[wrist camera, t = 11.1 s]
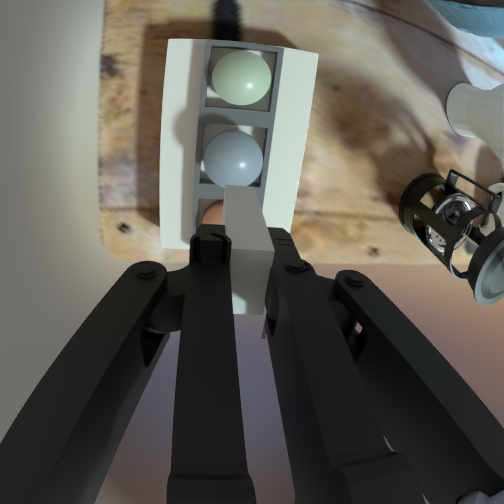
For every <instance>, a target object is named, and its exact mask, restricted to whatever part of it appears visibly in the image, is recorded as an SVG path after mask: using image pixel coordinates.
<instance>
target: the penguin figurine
mask: <svg viewBox="0 0 504 504" xmlns="http://www.w3.org/2000/svg"><path fill="white" fill-rule="evenodd" d="M488 189H489V190H490V191H492V192H493V193H495V194H497V193H499V192H501V191H502V198H503V199H502V202H501V204H500V207H499V209H498V211H497V215H498V216H499V218H500V219H501V222H502V227H504V183H496V184H493V185H491V186H490V187H488ZM491 200H492V198H491ZM479 227H480V225H479ZM494 230H495V221H494V217H493V215H492V213H490V216H489V222H488V224H487V226H486V225H483V227H482V228H481V227H480V232H481V233H483V234H484V235H485V236H487V235H489V234H490V233H491V232H492V231H494Z"/></svg>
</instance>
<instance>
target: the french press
mask: <svg viewBox="0 0 504 504" xmlns="http://www.w3.org/2000/svg"><path fill="white" fill-rule="evenodd" d="M459 176H460V177H462V178H464V179H465V180H467V181H469V182H471V183H472V184H474V185H476V186H477V187H479V188H481V189H482V190H484V191H486V192H487V193H489V194H491V195H492V200H491V202H490V205H489V207H488V208H487V207H486V206H484V205H483V204H481V203H480V202H478V201H477V200H475V199H474V198H472V197H471V196H469V195H468V194H466V193H465V192H463V191H461V190H460V189H458V188H456V187H455V184H456V182H457V179H458V177H459ZM437 185H439V186H440V187H441V188H442V190H443V192H444V196H445V197H444V198H442V199H441V200H440V201H439V202H438V203H437V204H436V205H435V206H434V207H433V209H432V210H431V209H430V208H428V207H427V206H426V205H424V204H423V203H422V202H420V200H421V198H422V197H423V195H424V194H425V193H426V192H427V191H429V190H430V189H431V188H433V187H435V186H437ZM459 192H460V193H461V194H460V193H459ZM470 199H471V200H472V201H474V202H475V203H477V204H478V205H480V206H478V207H475V208H474V207H473V204H472V202H471V200H470ZM501 202H502V198H501V197H500V196H498V195H497V194H495V193H493V192H492V191H490V190H489V189H487V188H485V187H484V186H482V185H480V184H478V183H477V182H475V181H473V180H471V179H470V178H468V177H466V176H464V175H462V174H461V173H459V172H457V171H455V170H453V169H451V170H450V171H449V174H448V176H447V179H446V180H445V179H444V178H443V177H441V176H439V175H437V174H434V173H427V174H423V175H421V176H419V177H417V178H416V179H414V180H413V181H412V182H411V183H410V184H409V185H408V187H407V188H406V190H405V191H404V193H403V195H402V198H401V201H400V206H399V216H400V220H401V223H402V225H403V227H404V228H405V229H406V230H407V231H408V232H409V233H411V234H413V235H414V236H415V237H416V238H417V239H418V240H420V241H421V242H422V243H423V244H424V245H425V246H426V247H427V248H428V249H429V250H430V251H431V252H432V253H433V254H434V255H435V256H436V257H437V258H438V259H439V260H440V261H441V262H442V263H443V264H444V265H445V266H446V267H447V269H448V270H449V271H450V272H451V273H452V274H453V276H454V277H456V278H457V279H459V280H468V282H469V284H470V286H471V288H472V290H473V293H474V298H475V300H476V301H477V303H479V304H480V305H483V306H486V305H490V304H493V303H495V302H497V301H498V300H500V299H501V298H502V297H503V296H504V227H502V222H501V219H500V218H499V216H498V215H497V211H498V209H499V207H500V204H501ZM484 213H492V215H493V217H494V221H495V230H494V231H492V232H491V233H490V234H489V235H487V236H485V235H484V234H483V233H481V232H480V231H479V230H478V229H476V228H475V227H474V226H473V221H474V218H475V217H477V216H479V215H480V214H484ZM414 214H416V215H417V216H418V217H419V218H420V219H422V220H423V221H424V222H425V223H426V227H417V226H415V225H414ZM465 239H467V240H468V241H469V242H471V243H472V244H473V245H474V246H475V247H476V248H477V249H476V251H475V253H474V255H473V257H472V259H471V261H470V264H469V267H468V271H466V272H462V273H460V272H459V271H458V270H457V269H456V268H455V267H454V266H453V265H452V264H451V259H452V253H453V250H455V249H457V248H458V247H459V246H460V245H461V244H462V243H463V242H464V241H465ZM442 254H444V256H443V255H442Z"/></svg>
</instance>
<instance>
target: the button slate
mask: <svg viewBox="0 0 504 504" xmlns="http://www.w3.org/2000/svg"><path fill="white" fill-rule="evenodd" d="M262 166H263V155H262V152H261V149H260V147H259V146H258V144H257V142H256V141H255V139H254V138H253V137H252V136H250V135H249V134H247V133H245V132H243V131H240V130H227V131H223V132H221V133H219V134H217V135H216V136H215V137H214V138H213V139H212V140H211V141H210V142H209V144H208V146H207V149H206V152H205V156H204V167H205V171H206V173H207V175H208V177H209V178H210V179H211V180H212V181H213V182H214V183H215V184H217V185H218V186H220V187H223V188H225V185H238V186H248V185H250V184H251V183H252V182H253V181H255V180H256V178H257V177H258V176H259V174H260V172H261V170H262Z"/></svg>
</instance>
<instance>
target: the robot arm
mask: <svg viewBox="0 0 504 504" xmlns="http://www.w3.org/2000/svg"><path fill="white" fill-rule="evenodd" d="M427 1H428V2H429V3H430V4H431V5H432V6H433V7H434V8H435V9H436V10H437V11H438V12H439V13H440V14H441V15H442V16H443V17H444V18H445V20H447V21H448V22H449V23H450V24H451V25H453V26H454V27H456V28H457V29H459V30H462V31H464V32H467V33H472V34H474V35H477V36H482V37H490V38H504V0H427ZM265 305H266V311H267V313H266V318H265V324H264V329H263V333H262V339H265V335H266V334H267V338H268V345H269V351H270V356H271V362H272V367H273V373H274V378H275V384H276V389H277V395H278V401H279V406H280V412H281V417H282V423H283V429H284V434H285V439H286V445H287V451H288V456H289V462H290V467H291V473H292V479H293V484H294V490H295V503H294V504H426V503H425V501H424V498H423V495H424V496H425V498H426V499H427V500H428V501H429V503H430V504H504V428H503V427H502V426H501V424H500V423H499V422H498V421H497V419H496V418H495V417H494V416H493V414H492V413H491V412H490V411H489V409H488V408H487V407H486V406H485V404H484V403H483V402H482V401H481V400H480V399H479V397H478V396H477V395H476V394H475V392H473V390H472V389H471V388H470V386H469V385H468V384H467V383H466V382H465V381H464V380H463V378H462V377H461V376H460V375H459V374H458V373H457V371H456V370H455V369H454V368H453V367H452V366H451V365H450V363H449V362H448V361H447V360H446V359H445V358H444V357H443V356H442V354H440V352H439V351H438V350H437V349H436V348H435V347H434V346H433V345H432V343H431V342H430V341H429V340H428V339H427V338H426V337H425V336H424V335H423V334H422V333H421V332H420V330H418V328H417V327H416V326H415V325H414V324H413V323H412V322H411V321H410V320H409V319H408V318H407V317H406V316H405V315H404V314H403V313H402V312H401V311H400V310H399V308H398V307H397V306H395V304H394V303H393V302H392V301H391V300H390V299H389V298H388V297H387V296H386V295H385V294H384V293H383V292H382V291H381V290H380V289H379V288H378V287H377V286H376V285H375V284H374V283H373V282H372V281H371V280H370V279H369V278H368V277H366V276H365V275H364V274H361V273H359V272H358V271H354V270H342V271H339V272H338V273H337V274H336V277H335V280H334V279H329V278H325V277H322V276H318V275H316V273H315V270H314V269H313V267H312V266H311V264H310V263H308V262H307V261H305V260H302V259H301V258H300V256H299V254H298V251H297V249H296V247H295V244H294V242H293V241H292V238H291V235H290V233H288V232H287V231H286V230H285V229H283V228H276V227H267V225H266V222H265V219H264V215H263V212H262V209H261V206H260V203H259V200H258V197H257V194H256V191H255V187H251V186H238V185H225V191H224V202H223V214H222V225H218V224H201V225H200V226H198V227H197V228H196V232H195V234H194V235H193V236H192V237H191V238H190V258H189V265H188V266H186V267H184V268H182V269H180V270H176V271H170V272H167V270H166V268H165V267H164V266H163V265H162V264H160V263H157V262H154V261H141V262H138V263H135V264H133V265H131V266H130V267H129V268H128V269H127V270H126V271H125V272H124V273H123V274H122V276H121V277H120V278H119V279H118V280H117V281H116V283H115V284H114V285H113V286H112V287H111V289H110V290H109V291H108V292H107V294H106V295H105V296H104V297H103V298H102V300H101V301H100V302H99V303H98V305H97V306H96V307H95V308H94V309H93V311H92V312H91V313H90V315H89V316H88V317H87V318H86V320H85V321H84V322H83V323H82V325H81V326H80V327H79V329H78V330H77V331H76V333H75V334H74V335H73V336H72V338H71V339H70V340H69V342H68V343H67V344H66V346H65V347H64V348H63V350H62V351H61V352H60V354H59V355H58V357H57V358H56V359H55V361H54V362H53V363H52V365H51V366H50V368H49V369H48V371H47V372H46V373H45V375H44V376H43V378H42V379H41V381H40V382H39V383H38V385H37V386H36V388H35V389H34V391H33V392H32V394H31V395H30V397H29V398H28V400H27V402H26V403H25V404H24V406H23V408H22V409H21V411H20V412H19V414H18V415H17V417H16V418H15V420H14V422H13V423H12V425H11V427H10V428H9V430H8V432H7V433H6V435H5V437H4V438H3V440H2V442H1V443H0V504H94V503H95V501H96V498H97V496H98V493H99V491H100V488H101V486H102V483H103V481H104V479H105V476H106V474H107V472H108V469H109V467H110V464H111V463H112V460H113V458H114V456H115V453H116V451H117V449H118V446H119V444H120V442H121V440H122V437H123V435H124V433H125V431H126V428H127V426H128V424H129V422H130V420H131V417H132V415H133V413H134V411H135V409H136V407H137V404H138V402H139V400H140V398H141V396H142V394H143V391H144V389H145V387H146V385H147V383H148V381H149V378H150V377H151V374H152V372H153V370H154V368H155V366H156V364H157V362H158V360H159V358H160V356H161V353H162V351H163V349H164V347H165V345H166V343H167V341H168V339H169V337H170V332H174V331H179V330H181V334H180V344H179V354H178V365H177V377H176V388H175V402H174V417H173V435H172V457H171V472H170V475H169V477H168V483H167V504H256V496H255V490H254V485H253V482H252V479H251V477H250V475H249V473H248V468H247V460H246V451H245V441H244V431H243V420H242V412H241V401H240V400H241V399H240V389H239V377H238V366H237V354H236V341H235V329H234V316H233V314H263V312H264V307H265ZM357 322H358V323H359V324H360V325H361V326H362V331H361V332H360V333H358V332H357V331H356V329H355V327H356V325H357ZM383 435H384V436H385V438H386V439H387V441H388V442H389V444H390V445H391V447H392V448H393V450H394V451H395V452H392V451H391V450H390V449H389V448H388V446H387V444H386V441H385V439H384V436H383ZM422 494H423V495H422Z"/></svg>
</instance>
